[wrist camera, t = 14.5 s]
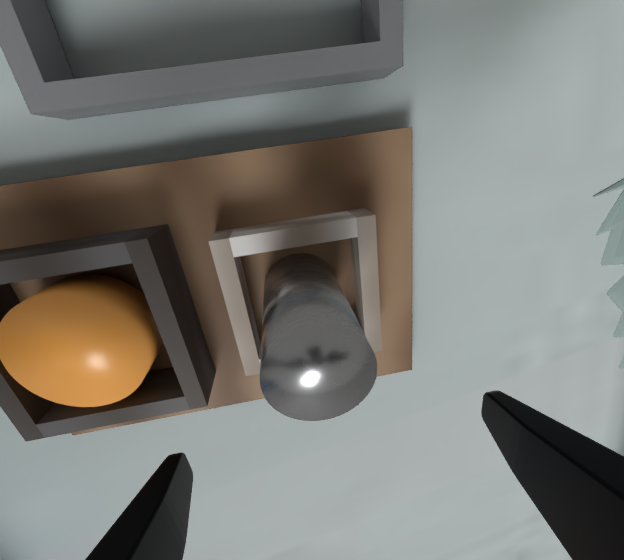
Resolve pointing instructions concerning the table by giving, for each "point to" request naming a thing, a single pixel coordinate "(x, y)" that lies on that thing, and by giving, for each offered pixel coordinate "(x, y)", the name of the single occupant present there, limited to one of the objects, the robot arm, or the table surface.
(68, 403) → the button
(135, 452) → the table surface
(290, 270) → the cylinder
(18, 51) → the gray square frame
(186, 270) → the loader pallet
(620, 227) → the calendar
